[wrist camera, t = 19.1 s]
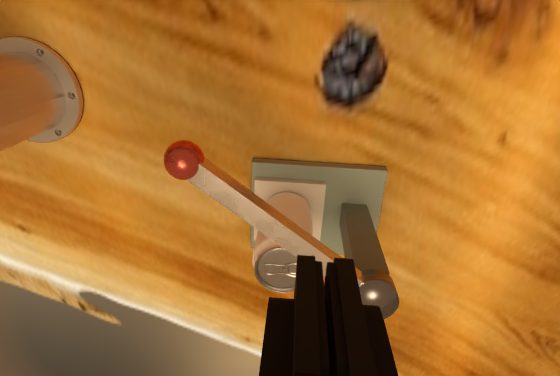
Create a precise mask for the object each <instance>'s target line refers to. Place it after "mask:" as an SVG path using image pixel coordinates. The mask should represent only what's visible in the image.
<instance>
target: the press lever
mask: <svg viewBox="0 0 560 376" xmlns="http://www.w3.org/2000/svg"><path fill="white" fill-rule="evenodd" d="M164 165H165V168H166V170H167V171H168V173H169V174H170V175H172V176H173V177H175V178H177V179H180V180H188V181H189V182H191V183H192V184H193V185H195V186H196V187H198V188H199V189H201V190H202V191H203V192H205V193H206V194H208V195H209V196H210V197H212V198H213V199H215V200H216V201H218V202H219V203H220V204H222V205H223V206H225V207H226V208H228V209H229V210H230V211H232V212H233V213H235V214H236V215H237V216H239V217H240V218H242V219H243V220H245V221H246V222H247V223H249V224H250V225H252V226H253V227H254V228H256V229H257V230H259V231H260V232H262V233H263V234H264V235H266V236H267V237H269V238H270V239H272V240H273V241H274V242H276V243H277V244H279V245H280V246H281V247H283V248H284V249H286V250H287V251H289V252H290V253H291V254H293V255H294V256H296V257H297V255H306V256H315V261H322V267H323V276H324V277H325V275H326V266H327V262H334V258H342V257H341V256H339V255H338V254H336V253H335V252H334V251H332V250H331V249H330V248H328V247H327V246H326V245H324V244H323V243H321V242H320V241H319V240H317V239H316V238H315V237H313V236H312V235H310V234H309V233H308V232H306V231H305V230H304V229H302V228H301V227H300V226H298V225H297V224H295V223H294V222H293V221H291V220H290V219H289V218H287V217H286V216H284V215H283V214H282V213H280V212H279V211H278V210H276V209H275V208H273V207H272V206H271V205H269V204H268V203H267V202H265V201H264V200H263V199H261V198H260V197H258V196H257V195H256V194H254V193H253V192H252V191H250V190H249V189H247V188H246V187H245V186H243V185H242V184H241V183H239V182H238V181H237V180H235V179H234V178H232V177H231V176H230V175H228V174H227V173H226V172H224V171H223V170H221V169H220V168H219V167H217V166H216V165H215V164H213V163H212V162H211V161H209V160H208V159H206V158H205V157H204V154H203V152H202V150H201V148H200V147H199V146H198V145H196V144H195V143H193V142H191V141H187V140H181V141H177V142H174V143H173V144H171V145H170V146H169V147H168V148H167V150H166V152H165V154H164ZM355 270H356V275H357V279H358V284H359V289H360V294H361V299H362V304H363V305H375V306H379V307H380V309H381V312H382V315H383V319H385V318H387V317H389V316H391V315H392V314H393V313H394V312H395V311H396V310H397V308H398V305H399V297H398V294H397V291H396V288H395V285H394V282H393V280H392V278H391V277H390V276H389V275H388V274H387V273H385V272H383V271H380V270H375V269H370V270H364V271H360V270H358V269H357V268H356V267H355Z"/></svg>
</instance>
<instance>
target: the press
mask: <svg viewBox="0 0 560 376" xmlns="http://www.w3.org/2000/svg"><path fill="white" fill-rule="evenodd" d="M387 173H388V170H387V168H386V167H385V166H372V165H356V164H340V163H324V162H308V161H292V160H276V159H260V158H253V160H252V190H251V191H252V192H253V193H254V194H256V195H257V196H258V197H260V198H261V199H263V200H264V201H265V202H267V200H268V199H269V198H271V197H272V196H274V195H276V194H279V193H285V192H287V193H294V194H297V195H299V196H301V197H302V198H304V199H305V200H306V201H307V203H308V204H309V206H310V209H311V213H312V229H313V237H315V238H316V239H317V240H319V241H320V242H321V243H323V244H324V245H326V246H327V247H328V248H330V249H331V250H332V251H334V252H335V253H336V254H340V255H345V258H347V259H353V260H354V265H355V267H356V268H357V269H358V270H360V271H364V270H370V269H375V270H380V271H383V272H385V273H387V274H388V275H389V270H388V267H387V264H386V261H385V258H384V255H383V252H382V249H381V246H380V243H379V240H378V237H377V234H376V232H377V227H378V221H379V216H380V211H381V205H382V200H383V194H384V189H385V183H386V178H387ZM257 232H258V230H257V229H256V228H254V227H253V226H252V225H251V248H254V246H255V241H256V237H257Z"/></svg>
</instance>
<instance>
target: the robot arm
mask: <svg viewBox="0 0 560 376" xmlns="http://www.w3.org/2000/svg"><path fill="white" fill-rule="evenodd" d="M74 94H75V95H74ZM82 112H83V98H82V91H81V88H80V85H79V82H78V80H77V78H76V76H75V74H74V72H73V71H72V70H71V68H70V67H69V65H68V64H67V63H66V62H65V61H64V60H63V59H62V57H61V56H60V55H59V54H57V53H56V52H55V51H53V50H52V49H51V48H50V47H48V46H46V45H44V44H42V43H41V42H38V41H35V40H33V39H30V38H24V37H7V38H1V39H0V151H1V150H4V149H6V148H8V147H11V146H13V145H15V144H18V143H20V142H22V141H25V140H29V141H33V142H39V143H46V142H53V141H57V140H59V139H61V138H64V137H66V136H67V135H69V134H70V133H71V132H72V131H73V130H74V129H75V128H76V127H77V125H78V123H79V121H80V120H81V116H82ZM259 376H398V373H397V369H396V365H395V361H394V357H393V354H392V350H391V346H390V342H389V338H388V334H387V331H386V327H385V323H384V319H383V315H382V312H381V309H380V307H379V306H375V305H363V304H362V299H361V294H360V289H359V284H358V279H357V275H356V270H355V265H354V260H353V259H347V258H334V262H327V266H326V275H325V283H324V281H323V267H322V261H315V256H306V255H297V265H296V278H295V291H294V299H284V298H271V297H269V302H268V309H267V317H266V325H265V332H264V340H263V348H262V356H261V364H260V371H259Z"/></svg>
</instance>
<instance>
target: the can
mask: <svg viewBox="0 0 560 376" xmlns="http://www.w3.org/2000/svg"><path fill="white" fill-rule="evenodd" d="M267 203H268V204H269V205H271V206H272V207H273V208H275V209H276V210H278V211H279V212H280V213H282V214H283V215H284V216H286V217H287V218H289V219H290V220H291V221H293V222H294V223H295V224H297V225H298V226H300V227H301V228H302V229H304V230H305V231H306V232H308V233H309V234H310V235H312V236H313V229H312V213H311V209H310V206H309V204H308V203H307V201H306V200H305V199H304V198H302V197H301V196H299V195H297V194H294V193H287V192H285V193H279V194H276V195H274V196H272V197H271V198H269V199H268V200H267ZM252 261H253V267H254V272H255V276H256V278H257V280H258V281H259V283H260V284H261V285H262V286H264V287H265V288H267V289H269V290H271V291H274V292H279V293H288V292H292V291H295V278H296V265H297V257H296V256H294V255H293V254H291V253H290V252H289V251H287V250H286V249H284V248H283V247H281V246H280V245H279V244H277V243H276V242H274V241H273V240H272V239H270V238H269V237H267V236H266V235H264V234H263V233H262V232H260V231H259V230H258V232H257V237H256V241H255V246H254V251H253V258H252Z"/></svg>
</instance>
